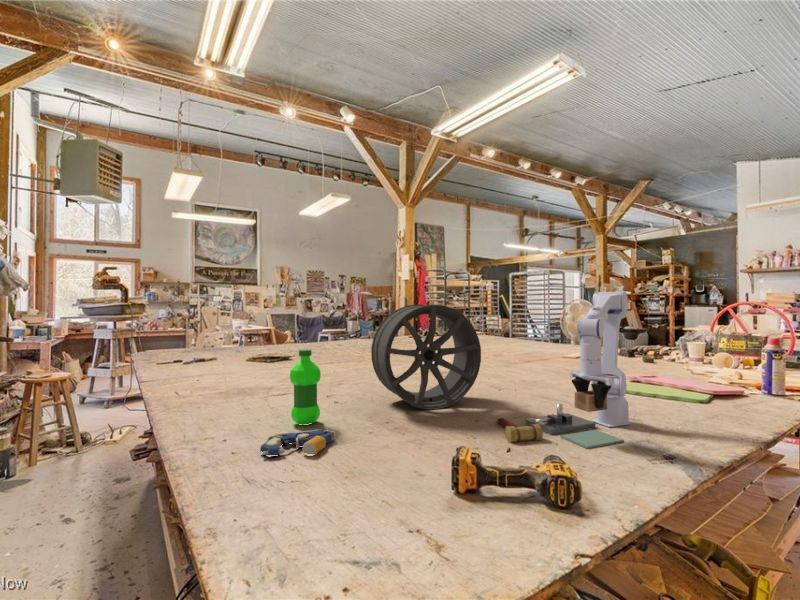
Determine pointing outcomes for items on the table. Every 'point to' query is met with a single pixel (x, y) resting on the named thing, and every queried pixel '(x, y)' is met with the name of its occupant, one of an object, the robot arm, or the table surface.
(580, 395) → the sleeve block
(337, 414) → the table surface
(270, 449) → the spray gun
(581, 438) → the mat
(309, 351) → the plastic bottle
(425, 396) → the car wheel rim
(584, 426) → the vise
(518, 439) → the gavel
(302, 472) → the table surface
